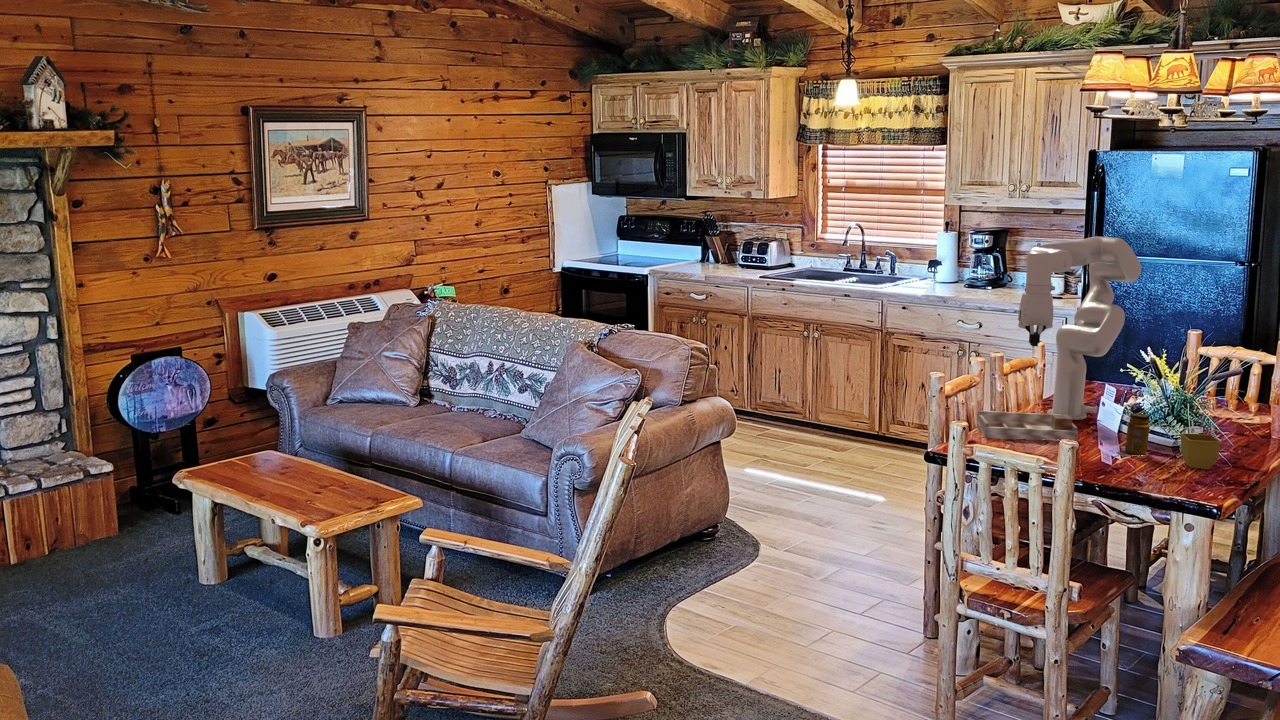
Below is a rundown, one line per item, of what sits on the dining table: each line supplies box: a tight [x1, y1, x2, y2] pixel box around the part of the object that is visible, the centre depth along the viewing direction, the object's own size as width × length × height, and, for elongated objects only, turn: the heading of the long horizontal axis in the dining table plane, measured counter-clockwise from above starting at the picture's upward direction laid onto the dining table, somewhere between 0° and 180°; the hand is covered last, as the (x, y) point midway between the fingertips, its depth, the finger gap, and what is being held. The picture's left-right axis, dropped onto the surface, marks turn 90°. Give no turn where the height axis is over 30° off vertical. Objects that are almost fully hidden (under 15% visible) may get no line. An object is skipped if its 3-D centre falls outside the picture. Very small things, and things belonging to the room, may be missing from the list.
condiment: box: [1116, 412, 1151, 459], centre depth 338 cm, size 7×8×12 cm
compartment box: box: [976, 410, 1079, 443], centre depth 358 cm, size 28×14×6 cm, turn 84°
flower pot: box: [1180, 432, 1222, 470], centre depth 326 cm, size 9×9×9 cm
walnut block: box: [1051, 415, 1073, 430], centre depth 356 cm, size 5×5×4 cm
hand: (1034, 345), depth 365 cm, fingers closed
